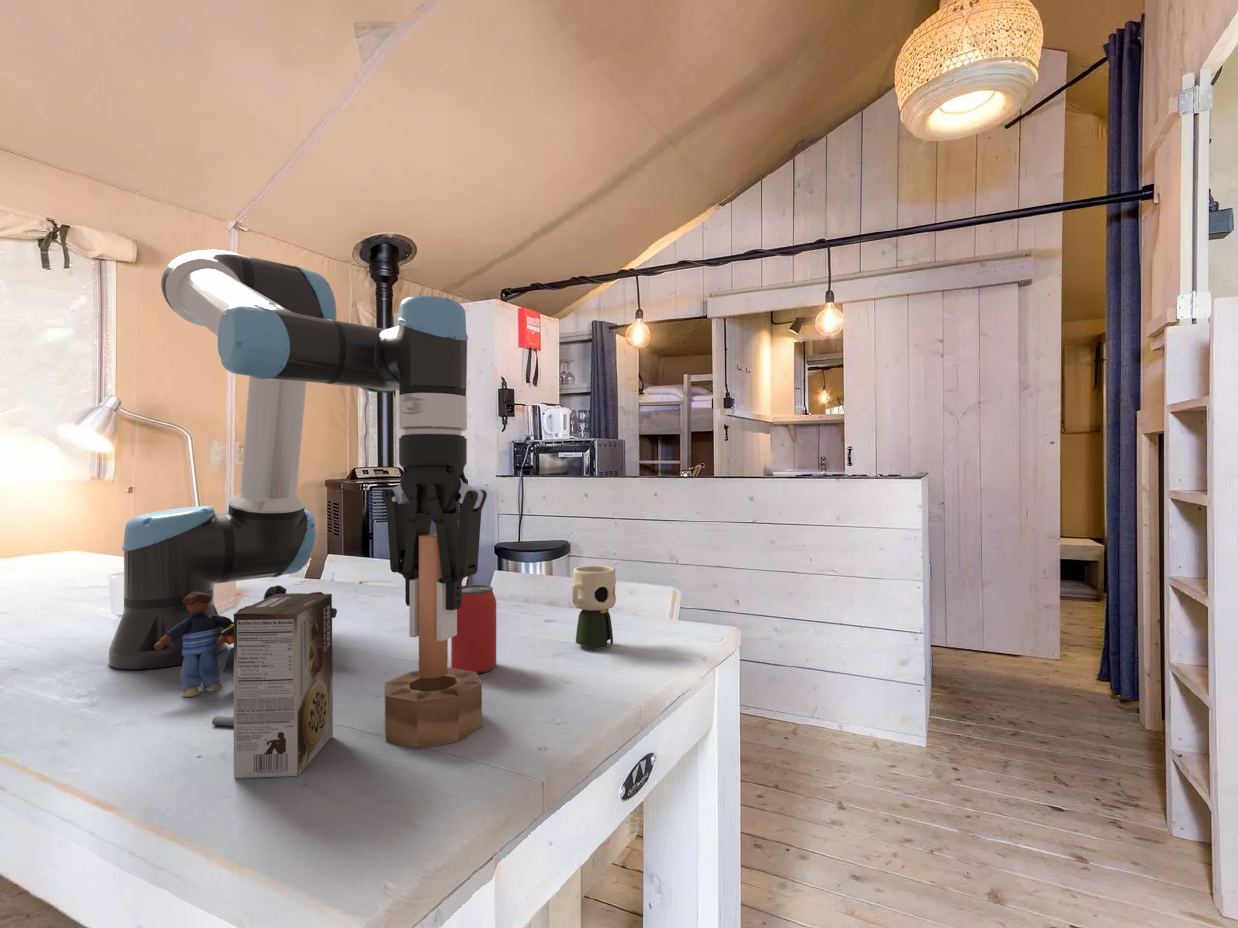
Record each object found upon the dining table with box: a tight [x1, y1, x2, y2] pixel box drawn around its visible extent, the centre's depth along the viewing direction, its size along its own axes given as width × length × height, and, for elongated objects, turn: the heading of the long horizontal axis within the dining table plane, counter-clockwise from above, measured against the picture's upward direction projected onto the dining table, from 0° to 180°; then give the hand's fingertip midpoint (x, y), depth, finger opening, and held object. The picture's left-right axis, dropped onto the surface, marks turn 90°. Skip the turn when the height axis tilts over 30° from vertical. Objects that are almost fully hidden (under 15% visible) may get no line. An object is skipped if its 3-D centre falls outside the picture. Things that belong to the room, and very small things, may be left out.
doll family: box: [154, 584, 338, 698], centre depth 88 cm, size 23×9×13 cm, turn 159°
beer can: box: [450, 584, 497, 675], centre depth 92 cm, size 7×7×12 cm
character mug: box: [571, 565, 617, 649], centre depth 103 cm, size 11×7×13 cm, turn 143°
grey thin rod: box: [211, 715, 234, 727], centre depth 71 cm, size 10×1×1 cm, turn 83°
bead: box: [384, 667, 483, 749], centre depth 71 cm, size 10×10×5 cm
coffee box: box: [233, 592, 334, 779], centre depth 64 cm, size 9×6×16 cm
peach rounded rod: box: [418, 533, 449, 678], centre depth 71 cm, size 3×3×16 cm
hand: (433, 635), depth 71 cm, fingers closed on peach rounded rod, 3 cm apart
